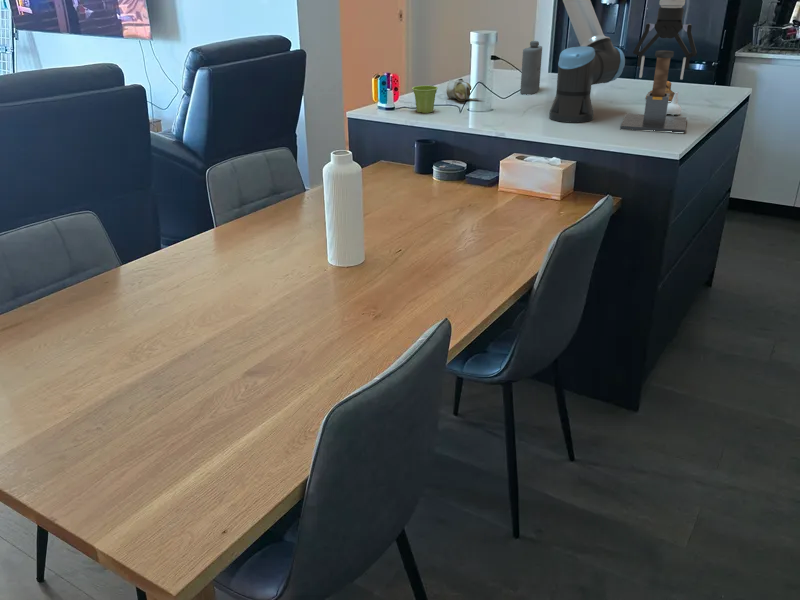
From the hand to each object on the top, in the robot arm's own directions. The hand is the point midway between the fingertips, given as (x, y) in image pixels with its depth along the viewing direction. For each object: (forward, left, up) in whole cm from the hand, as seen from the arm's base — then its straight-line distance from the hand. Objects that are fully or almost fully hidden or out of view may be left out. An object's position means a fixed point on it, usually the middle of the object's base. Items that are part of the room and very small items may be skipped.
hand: (660, 77), depth 228 cm
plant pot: (-81, -3, -16) cm, 83 cm away
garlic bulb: (+5, +19, -16) cm, 25 cm away
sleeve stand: (0, 0, -15) cm, 15 cm away
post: (0, 0, -13) cm, 13 cm away
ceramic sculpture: (-75, +22, -16) cm, 79 cm away
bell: (0, +46, -16) cm, 49 cm away
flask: (-52, +48, -16) cm, 72 cm away
